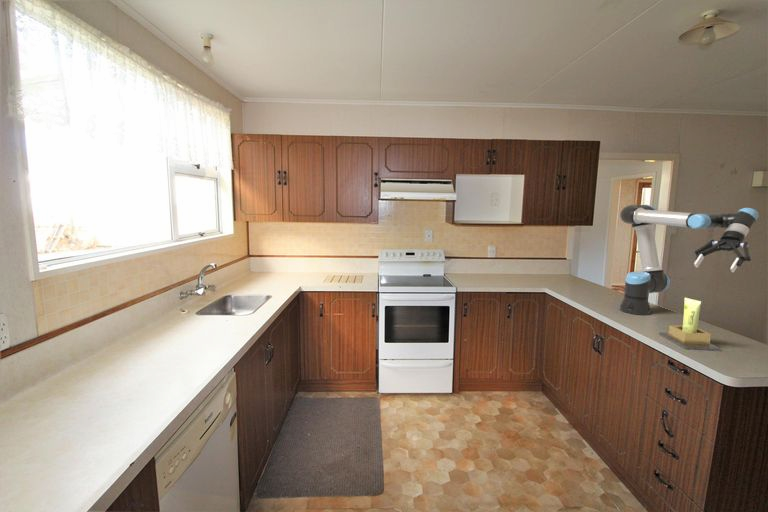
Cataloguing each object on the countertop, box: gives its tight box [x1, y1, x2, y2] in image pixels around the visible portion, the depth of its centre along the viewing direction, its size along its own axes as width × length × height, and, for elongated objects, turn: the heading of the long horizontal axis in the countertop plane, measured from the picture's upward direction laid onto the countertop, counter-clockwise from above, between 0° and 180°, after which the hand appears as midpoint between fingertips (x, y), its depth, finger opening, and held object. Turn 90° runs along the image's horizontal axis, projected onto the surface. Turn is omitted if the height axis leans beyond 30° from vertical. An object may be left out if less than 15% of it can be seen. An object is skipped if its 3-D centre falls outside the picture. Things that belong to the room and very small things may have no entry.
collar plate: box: [658, 325, 722, 352], centre depth 161 cm, size 18×14×6 cm
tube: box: [682, 297, 702, 333], centre depth 160 cm, size 6×5×20 cm
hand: (713, 268), depth 163 cm, fingers open, 13 cm apart
